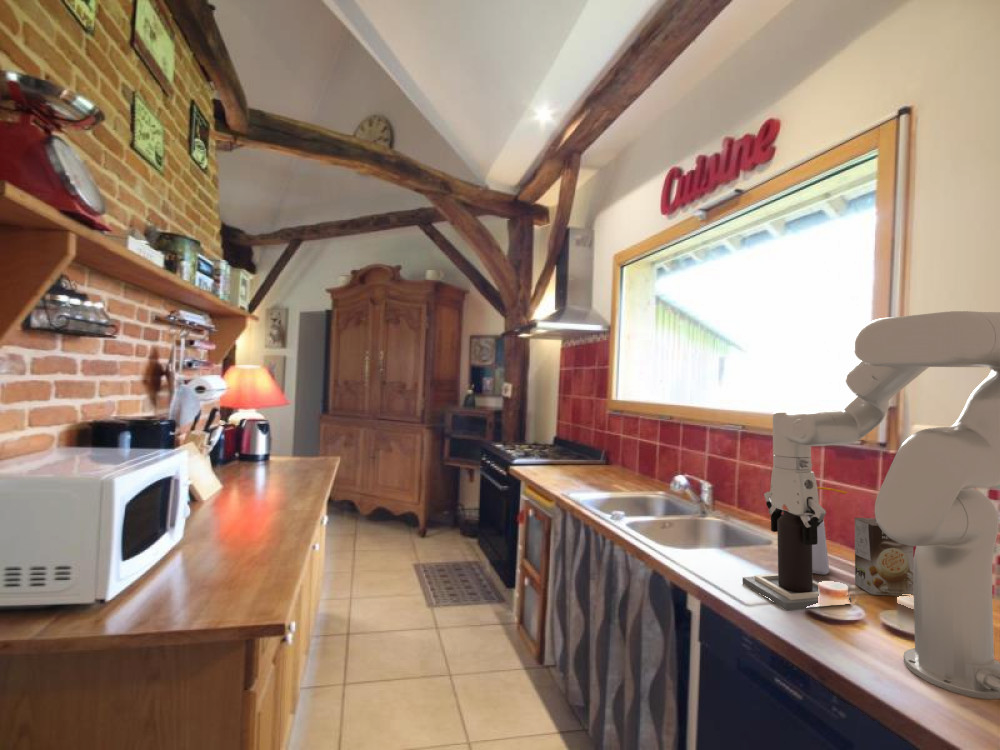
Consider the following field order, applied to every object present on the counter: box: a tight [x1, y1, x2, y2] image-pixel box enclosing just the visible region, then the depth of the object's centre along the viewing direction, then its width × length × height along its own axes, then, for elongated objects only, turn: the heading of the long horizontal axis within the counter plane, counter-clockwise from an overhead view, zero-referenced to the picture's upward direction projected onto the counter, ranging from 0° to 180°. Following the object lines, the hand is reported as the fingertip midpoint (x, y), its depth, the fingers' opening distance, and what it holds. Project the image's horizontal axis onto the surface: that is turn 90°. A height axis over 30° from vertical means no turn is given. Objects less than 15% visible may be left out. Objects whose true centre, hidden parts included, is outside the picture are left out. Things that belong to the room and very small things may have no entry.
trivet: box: [742, 573, 852, 611], centre depth 110 cm, size 14×16×2 cm
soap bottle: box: [807, 486, 848, 575], centre depth 125 cm, size 10×14×22 cm
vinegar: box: [777, 504, 814, 593], centre depth 110 cm, size 7×7×20 cm
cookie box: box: [854, 517, 914, 597], centre depth 112 cm, size 9×6×16 cm
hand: (793, 537), depth 110 cm, fingers open, 9 cm apart
